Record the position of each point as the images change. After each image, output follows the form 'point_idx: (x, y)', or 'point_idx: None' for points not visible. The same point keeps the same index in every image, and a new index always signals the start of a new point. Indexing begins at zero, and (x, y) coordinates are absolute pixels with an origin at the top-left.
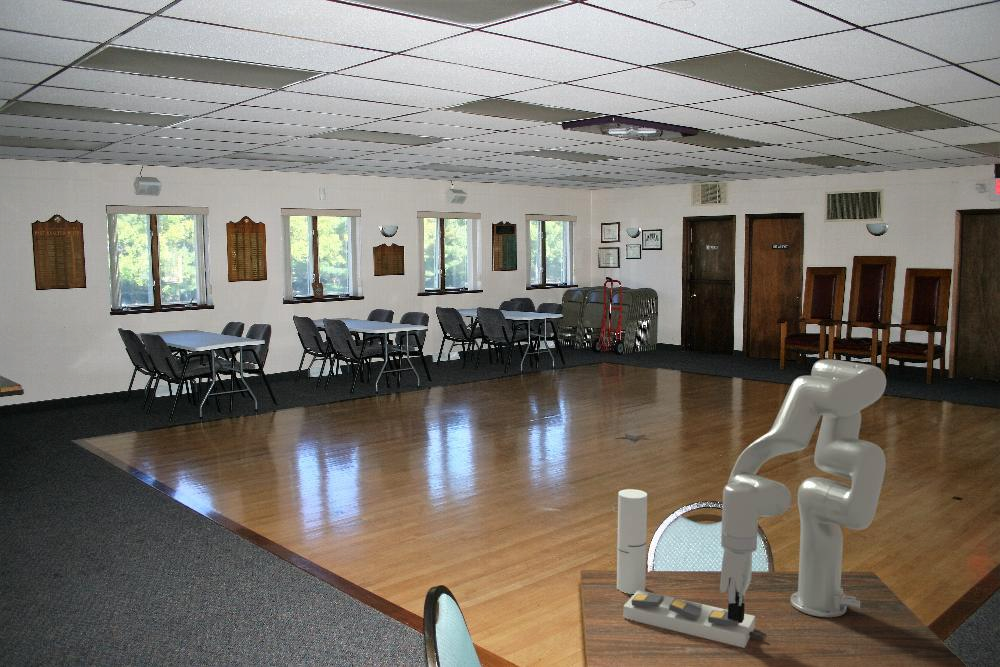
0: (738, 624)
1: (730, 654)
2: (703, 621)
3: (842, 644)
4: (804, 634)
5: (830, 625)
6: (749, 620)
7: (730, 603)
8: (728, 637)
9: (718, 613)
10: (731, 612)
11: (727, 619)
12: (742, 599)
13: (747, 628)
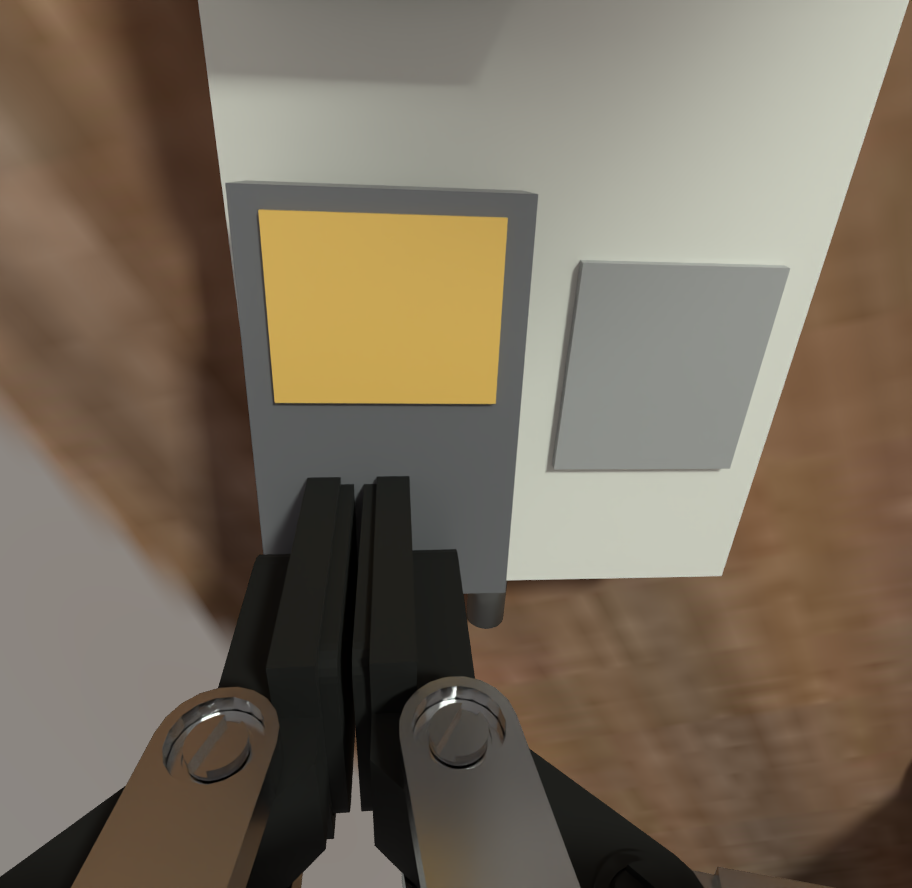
0: None
1: (103, 434)
2: (327, 70)
3: None
4: (683, 741)
5: (835, 806)
6: (605, 556)
7: (170, 749)
8: None
9: (418, 321)
10: (245, 612)
11: (276, 480)
12: (402, 884)
13: None
